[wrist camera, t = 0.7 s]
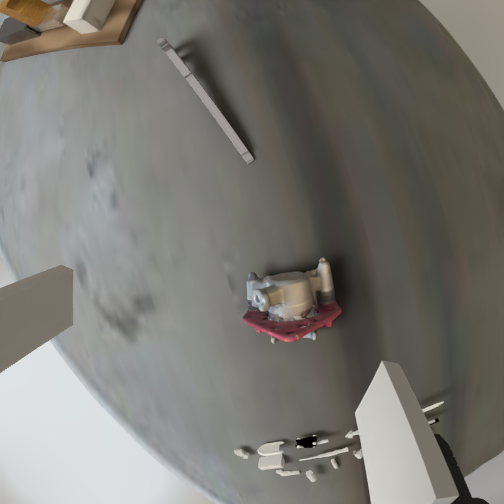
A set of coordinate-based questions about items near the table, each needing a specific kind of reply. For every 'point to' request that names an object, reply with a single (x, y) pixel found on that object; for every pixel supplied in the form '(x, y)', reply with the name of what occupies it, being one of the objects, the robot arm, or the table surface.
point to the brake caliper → (292, 303)
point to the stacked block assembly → (35, 13)
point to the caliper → (205, 99)
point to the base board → (77, 33)
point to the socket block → (88, 15)
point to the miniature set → (308, 442)
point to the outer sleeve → (16, 32)
